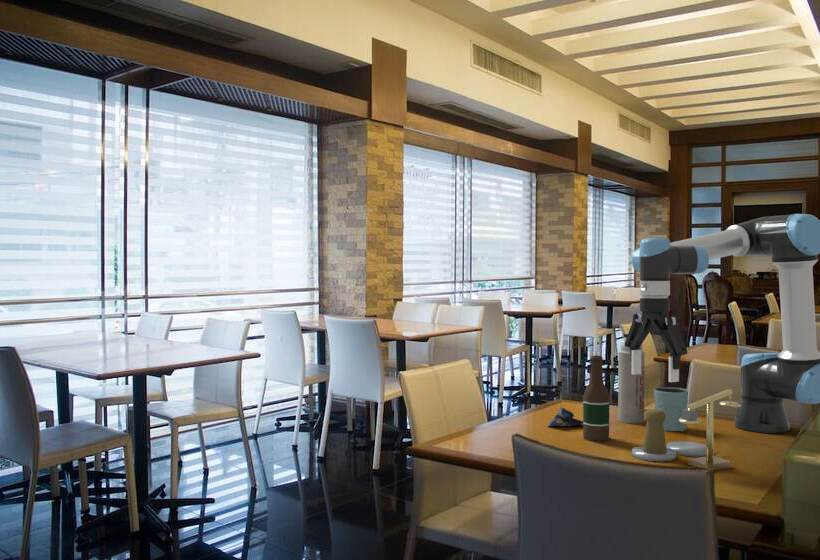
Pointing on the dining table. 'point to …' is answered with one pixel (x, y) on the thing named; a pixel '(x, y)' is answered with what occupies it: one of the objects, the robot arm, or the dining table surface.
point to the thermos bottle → (630, 387)
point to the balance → (708, 429)
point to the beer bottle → (596, 404)
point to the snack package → (564, 419)
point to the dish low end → (653, 455)
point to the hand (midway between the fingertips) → (654, 377)
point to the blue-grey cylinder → (671, 406)
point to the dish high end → (687, 448)
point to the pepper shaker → (655, 432)
